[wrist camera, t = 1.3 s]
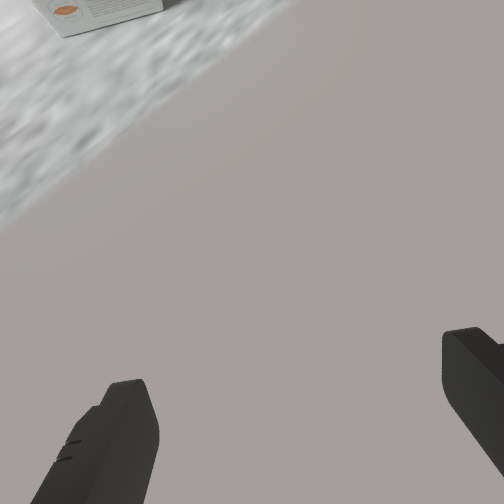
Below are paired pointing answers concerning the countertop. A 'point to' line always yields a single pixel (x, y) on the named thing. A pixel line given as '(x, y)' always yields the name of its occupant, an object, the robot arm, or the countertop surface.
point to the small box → (92, 13)
